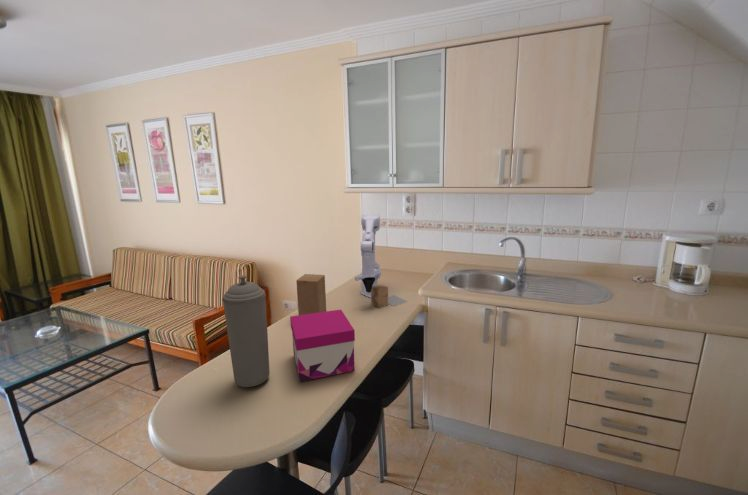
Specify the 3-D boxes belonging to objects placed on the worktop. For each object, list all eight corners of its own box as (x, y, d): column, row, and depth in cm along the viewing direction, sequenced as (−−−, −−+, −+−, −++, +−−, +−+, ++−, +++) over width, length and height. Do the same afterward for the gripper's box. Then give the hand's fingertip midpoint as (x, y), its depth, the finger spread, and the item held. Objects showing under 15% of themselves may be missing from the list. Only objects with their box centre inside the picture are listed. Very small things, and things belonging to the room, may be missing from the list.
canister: (237, 395, 103) (225, 285, 95) (227, 376, 113) (215, 275, 106) (278, 380, 110) (269, 276, 103) (265, 363, 120) (256, 268, 113)
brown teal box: (371, 305, 173) (371, 286, 171) (380, 302, 177) (380, 284, 175) (378, 308, 168) (378, 289, 166) (388, 305, 172) (387, 287, 170)
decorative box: (342, 345, 132) (341, 309, 129) (355, 371, 115) (354, 329, 112) (292, 354, 126) (290, 316, 123) (298, 382, 109) (295, 339, 106)
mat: (378, 300, 180) (378, 299, 179) (394, 295, 186) (394, 295, 186) (393, 307, 170) (393, 306, 170) (409, 302, 177) (409, 301, 177)
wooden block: (319, 323, 152) (317, 281, 148) (298, 322, 154) (295, 280, 150) (326, 314, 162) (325, 274, 158) (307, 313, 164) (304, 273, 160)
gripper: (360, 269, 157) (361, 297, 159) (384, 264, 165) (385, 290, 168) (352, 266, 162) (352, 293, 165) (376, 261, 171) (376, 287, 173)
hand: (368, 291), depth 167 cm, fingers closed
